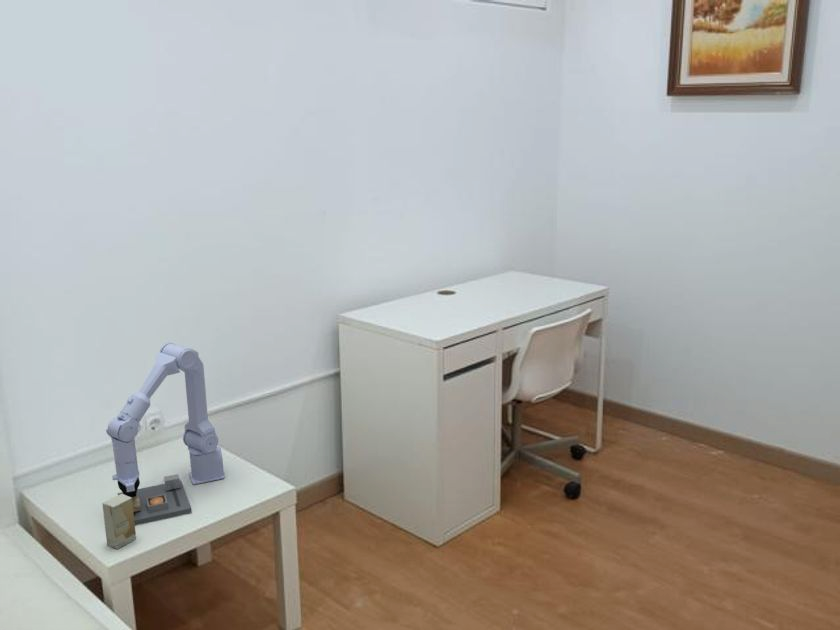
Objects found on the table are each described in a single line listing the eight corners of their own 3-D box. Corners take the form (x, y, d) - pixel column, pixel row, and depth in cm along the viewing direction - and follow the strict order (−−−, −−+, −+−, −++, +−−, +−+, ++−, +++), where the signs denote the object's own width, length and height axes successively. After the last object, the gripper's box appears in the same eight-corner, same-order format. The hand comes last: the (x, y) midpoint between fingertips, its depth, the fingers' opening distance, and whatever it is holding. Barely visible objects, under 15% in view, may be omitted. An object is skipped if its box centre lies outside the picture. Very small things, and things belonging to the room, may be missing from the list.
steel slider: (178, 483, 232) (177, 473, 231) (180, 487, 229) (179, 478, 228) (164, 485, 230) (163, 476, 229) (166, 490, 228) (165, 481, 227)
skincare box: (117, 550, 202) (111, 507, 198) (106, 545, 204) (100, 503, 201) (137, 538, 207) (132, 496, 204) (127, 533, 209) (121, 492, 206)
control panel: (181, 484, 235) (180, 474, 234) (191, 512, 219) (190, 501, 218) (118, 497, 228) (116, 487, 227) (123, 527, 212) (122, 516, 211)
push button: (163, 501, 222) (162, 496, 222) (164, 507, 219) (164, 501, 218) (149, 503, 221) (149, 498, 220) (151, 509, 217) (150, 504, 217)
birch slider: (139, 505, 220) (138, 495, 219) (140, 510, 217) (139, 500, 216) (124, 508, 218) (123, 499, 217) (125, 513, 215) (124, 503, 214)
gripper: (108, 451, 221) (114, 494, 225) (112, 473, 208) (118, 518, 212) (134, 446, 224) (139, 489, 227) (140, 468, 211) (145, 513, 215)
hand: (131, 503), depth 220 cm, fingers closed
